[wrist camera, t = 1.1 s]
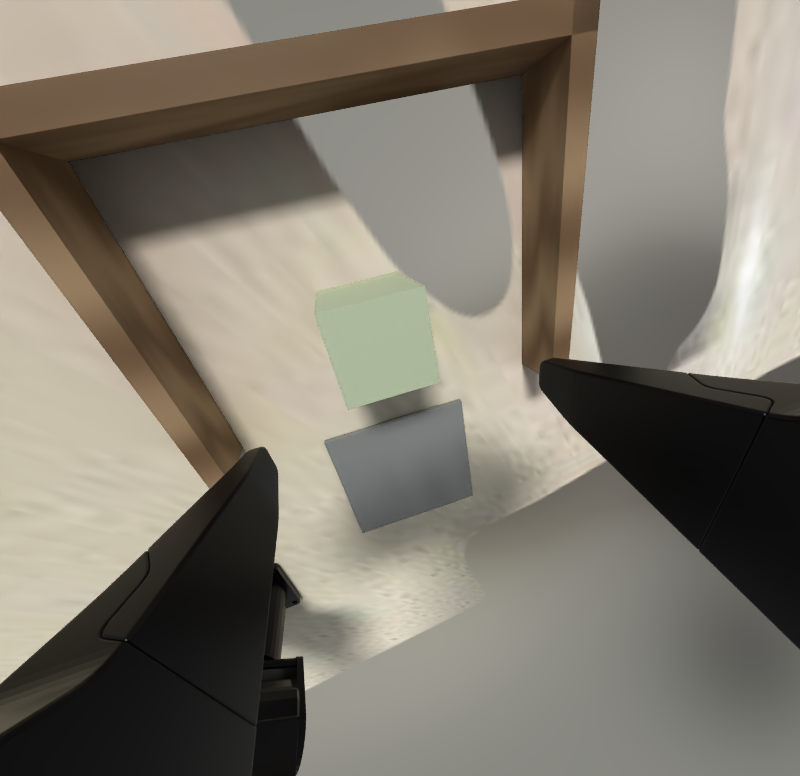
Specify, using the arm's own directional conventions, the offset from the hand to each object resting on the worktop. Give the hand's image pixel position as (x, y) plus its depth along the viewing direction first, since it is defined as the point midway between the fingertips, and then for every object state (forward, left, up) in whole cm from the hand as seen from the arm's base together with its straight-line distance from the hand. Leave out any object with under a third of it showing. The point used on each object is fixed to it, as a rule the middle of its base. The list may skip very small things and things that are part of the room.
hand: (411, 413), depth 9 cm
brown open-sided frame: (+3, 0, -12) cm, 12 cm away
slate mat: (-13, 0, -12) cm, 18 cm away
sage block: (0, 0, -12) cm, 12 cm away
